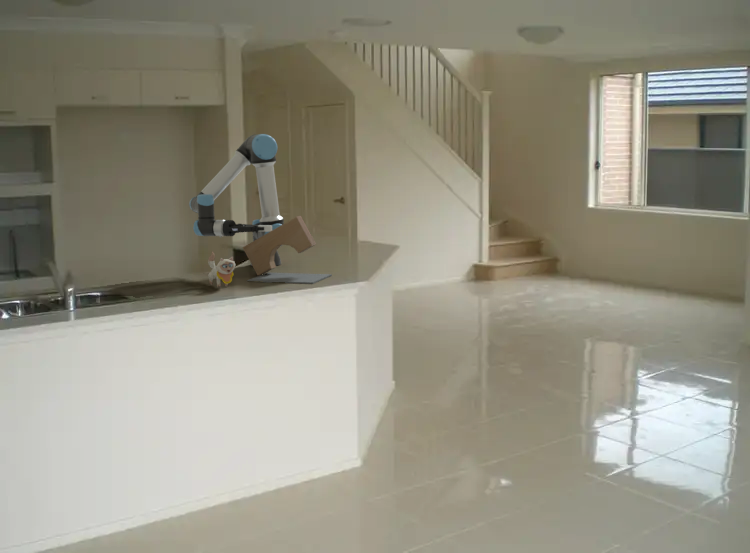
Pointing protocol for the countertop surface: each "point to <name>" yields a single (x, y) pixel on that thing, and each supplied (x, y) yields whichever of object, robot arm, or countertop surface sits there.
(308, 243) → the decorative block
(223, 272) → the toy
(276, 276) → the mat
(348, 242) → the countertop surface
